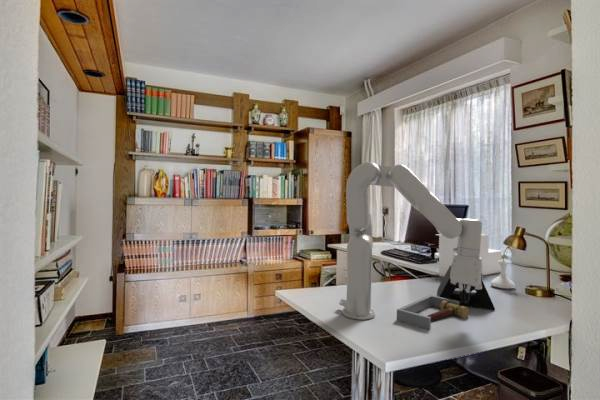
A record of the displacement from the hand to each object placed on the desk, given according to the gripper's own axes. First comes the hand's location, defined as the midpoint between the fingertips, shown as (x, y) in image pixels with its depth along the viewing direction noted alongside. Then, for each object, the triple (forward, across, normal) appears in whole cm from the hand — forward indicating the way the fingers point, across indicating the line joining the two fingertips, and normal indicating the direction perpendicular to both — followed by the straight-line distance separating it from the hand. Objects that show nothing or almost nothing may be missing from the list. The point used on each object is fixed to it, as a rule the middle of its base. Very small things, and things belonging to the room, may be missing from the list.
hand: (464, 302), depth 127 cm
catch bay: (+9, -13, +1) cm, 16 cm away
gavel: (+9, -9, +2) cm, 13 cm away
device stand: (+9, -11, +34) cm, 37 cm away
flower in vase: (+7, -5, +73) cm, 73 cm away
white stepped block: (+8, -30, +95) cm, 100 cm away
